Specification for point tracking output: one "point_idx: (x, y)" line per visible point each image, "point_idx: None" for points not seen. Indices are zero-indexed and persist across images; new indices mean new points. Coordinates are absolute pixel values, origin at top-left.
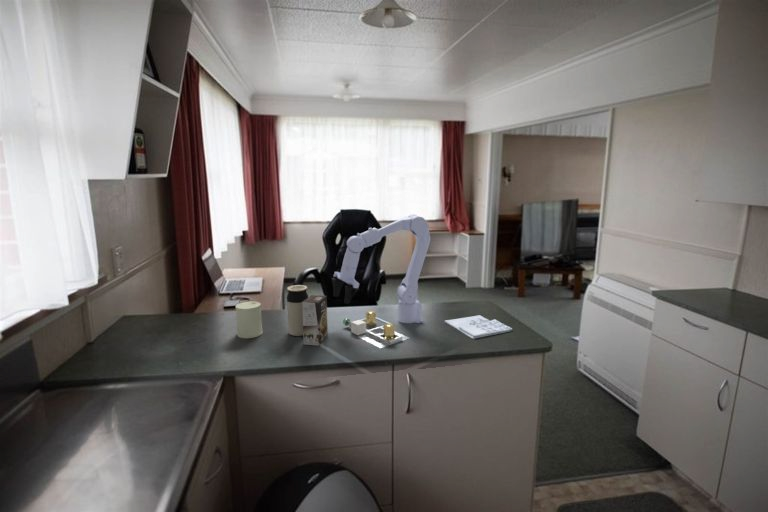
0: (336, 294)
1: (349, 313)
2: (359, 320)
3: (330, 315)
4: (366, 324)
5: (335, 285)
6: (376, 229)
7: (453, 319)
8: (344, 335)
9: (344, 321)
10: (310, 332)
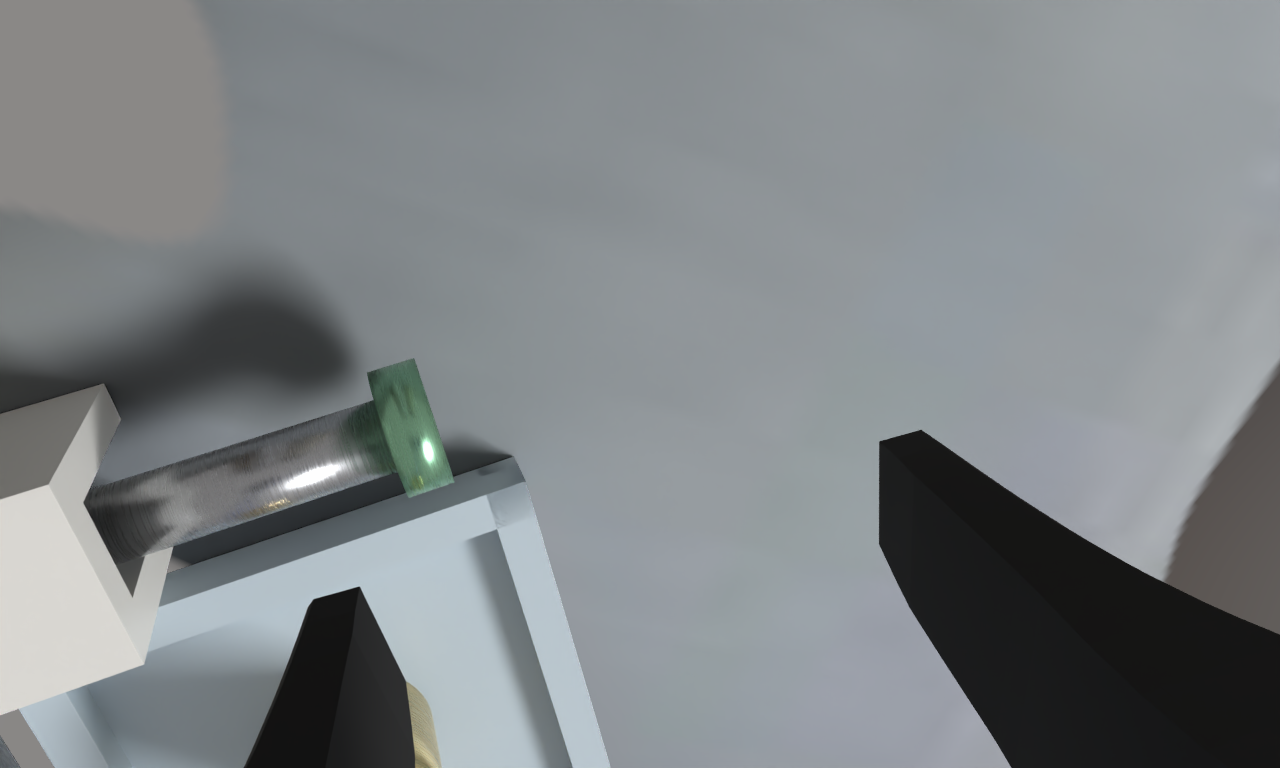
0: (910, 534)
1: None
2: (87, 651)
3: (1034, 313)
4: None
5: (1107, 691)
6: None
7: None
8: (126, 269)
9: (378, 391)
10: None
